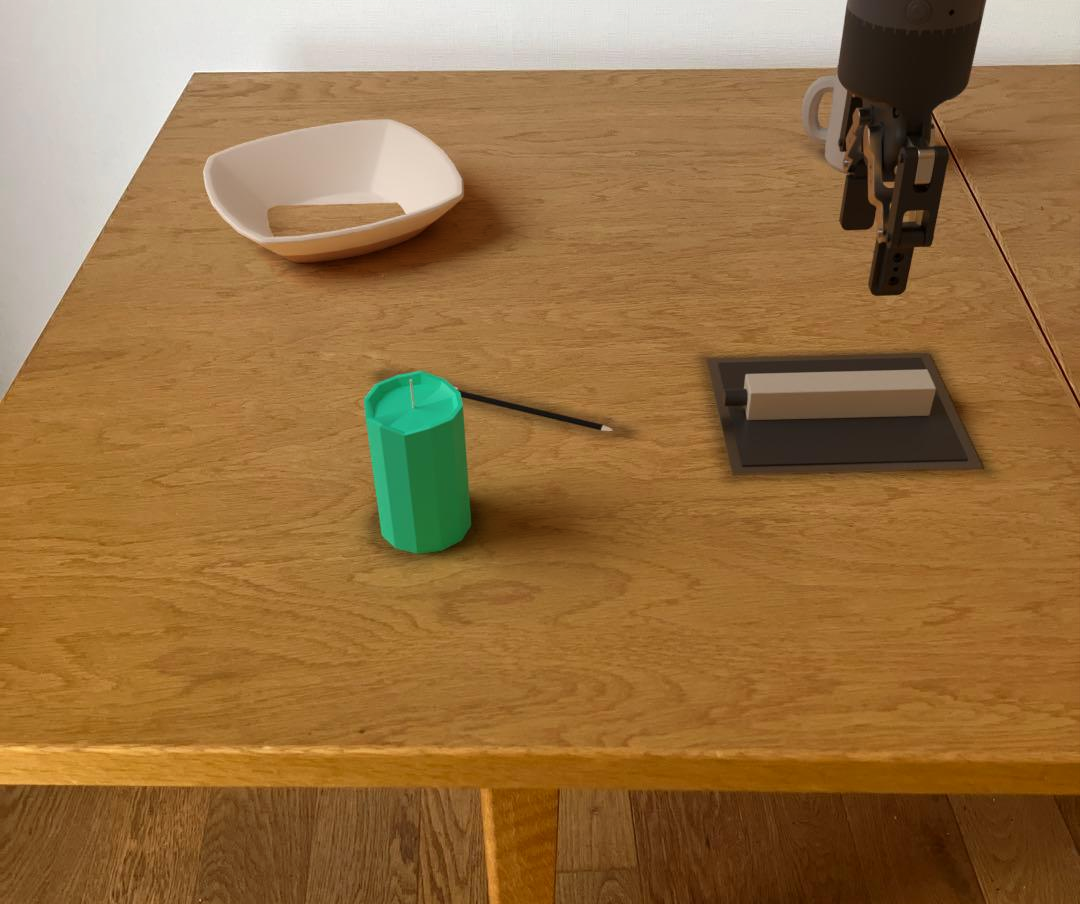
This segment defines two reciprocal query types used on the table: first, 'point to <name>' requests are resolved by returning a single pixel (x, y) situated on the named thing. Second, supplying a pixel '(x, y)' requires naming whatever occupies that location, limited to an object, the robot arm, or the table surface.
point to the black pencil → (534, 411)
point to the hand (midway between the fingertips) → (869, 258)
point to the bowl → (334, 184)
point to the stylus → (834, 394)
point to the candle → (419, 461)
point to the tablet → (839, 424)
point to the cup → (835, 121)
